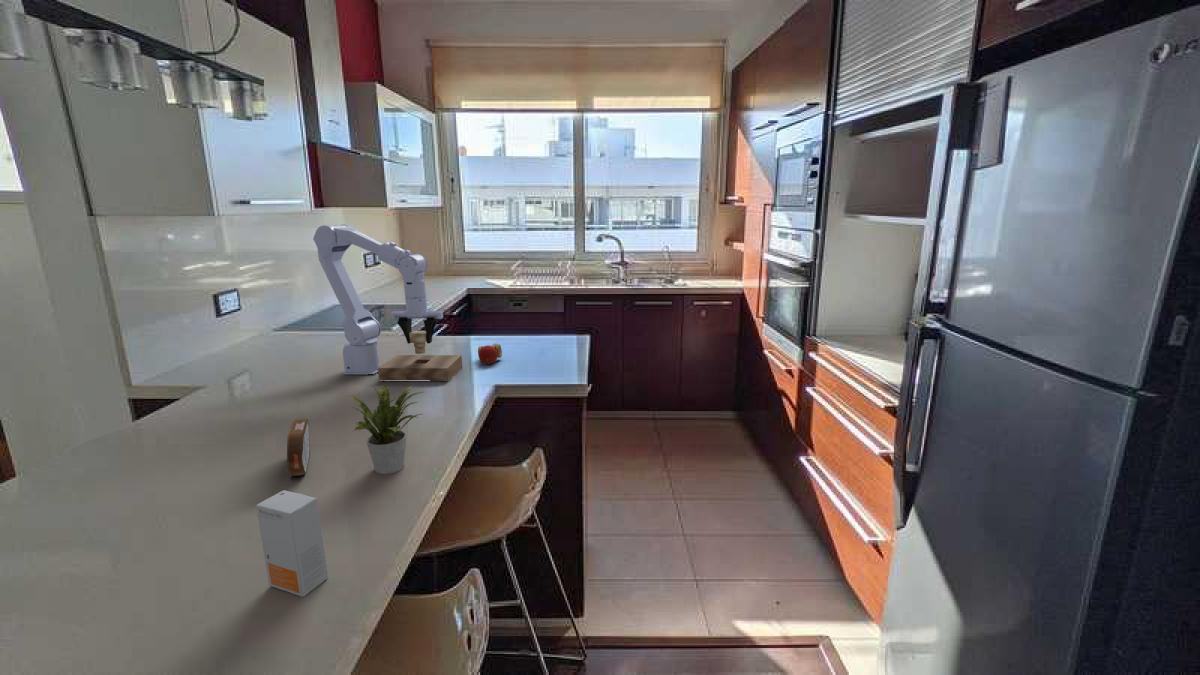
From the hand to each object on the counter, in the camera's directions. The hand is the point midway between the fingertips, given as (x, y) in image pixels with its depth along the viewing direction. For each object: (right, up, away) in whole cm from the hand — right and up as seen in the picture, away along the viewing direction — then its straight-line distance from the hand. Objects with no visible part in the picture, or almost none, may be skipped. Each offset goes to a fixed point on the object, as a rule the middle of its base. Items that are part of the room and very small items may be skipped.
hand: (419, 342), depth 160 cm
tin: (-4, -23, -55) cm, 60 cm away
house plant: (+14, -24, -57) cm, 63 cm away
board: (0, -9, +2) cm, 10 cm away
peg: (0, -3, +1) cm, 3 cm away
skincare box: (+13, -31, -88) cm, 94 cm away
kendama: (+17, -6, +19) cm, 26 cm away
